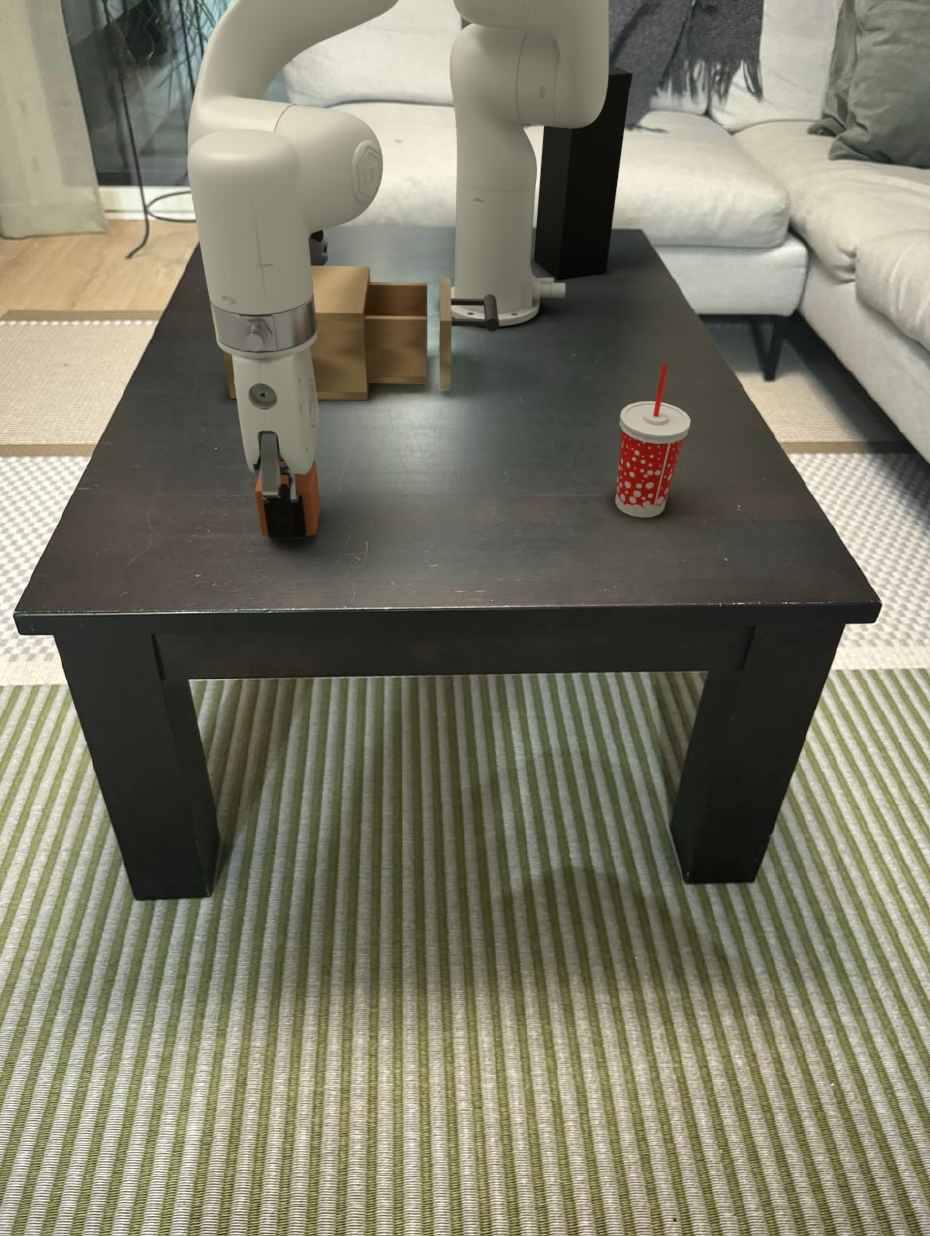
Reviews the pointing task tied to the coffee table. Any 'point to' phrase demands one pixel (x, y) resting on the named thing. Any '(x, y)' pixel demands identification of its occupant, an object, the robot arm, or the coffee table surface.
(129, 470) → the coffee table surface
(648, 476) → the beverage cup
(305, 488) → the block
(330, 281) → the cabinet
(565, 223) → the tall black pillar
